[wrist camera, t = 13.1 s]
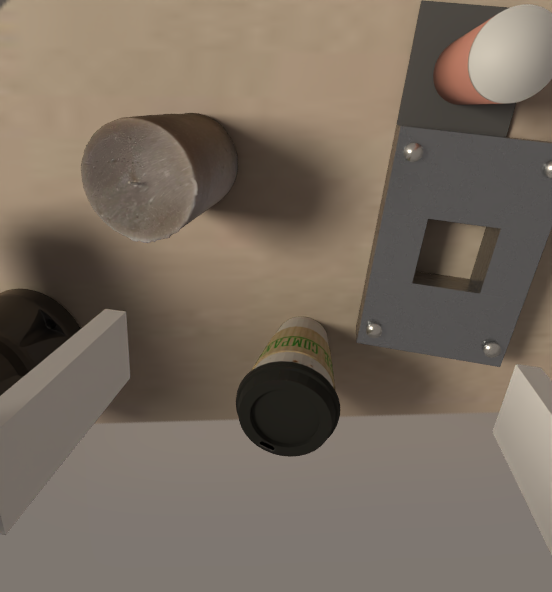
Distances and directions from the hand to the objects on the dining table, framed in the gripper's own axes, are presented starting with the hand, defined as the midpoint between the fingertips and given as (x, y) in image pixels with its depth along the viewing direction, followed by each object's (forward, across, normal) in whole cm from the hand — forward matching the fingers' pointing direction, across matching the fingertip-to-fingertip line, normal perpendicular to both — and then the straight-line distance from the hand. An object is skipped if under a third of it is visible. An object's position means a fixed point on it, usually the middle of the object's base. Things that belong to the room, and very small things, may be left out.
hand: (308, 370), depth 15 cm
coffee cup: (+34, -1, -17) cm, 38 cm away
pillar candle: (+34, -15, +2) cm, 37 cm away
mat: (+33, +11, +12) cm, 37 cm away
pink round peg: (+33, +10, +12) cm, 36 cm away
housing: (+33, +13, -4) cm, 36 cm away
